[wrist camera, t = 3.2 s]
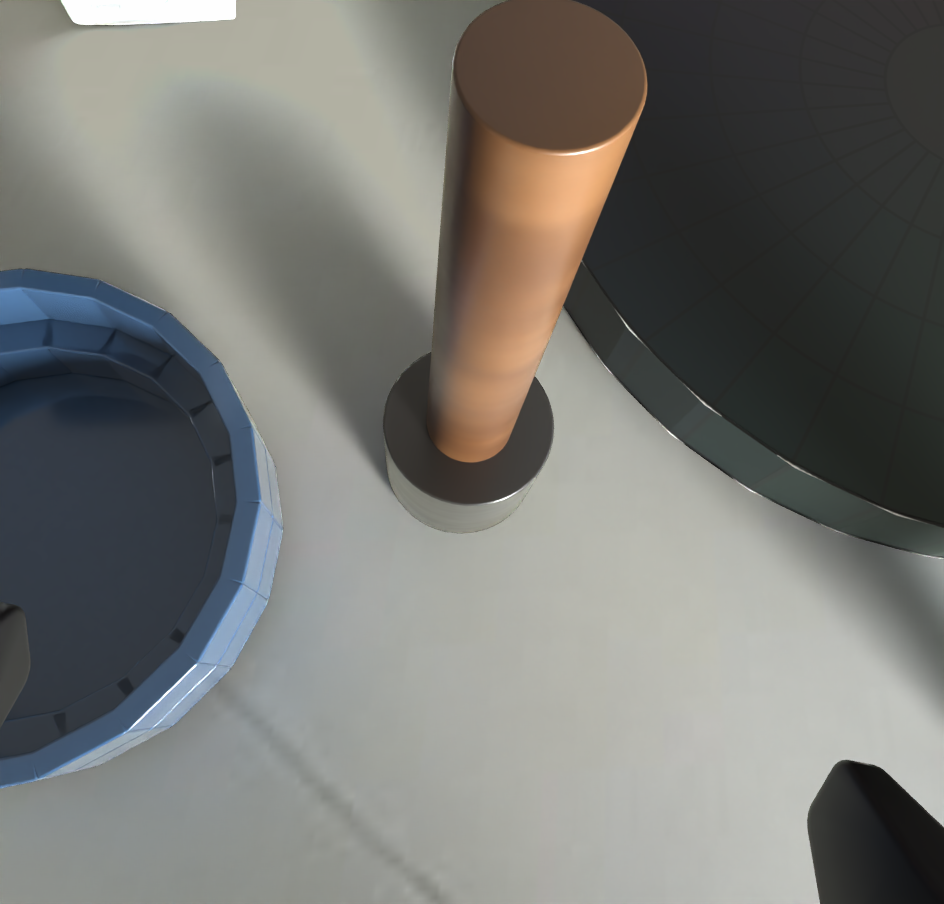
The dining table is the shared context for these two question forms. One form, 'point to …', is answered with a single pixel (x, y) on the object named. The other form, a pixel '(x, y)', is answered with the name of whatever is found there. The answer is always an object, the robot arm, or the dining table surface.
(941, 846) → the robot arm
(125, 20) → the syrup box
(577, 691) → the dining table surface
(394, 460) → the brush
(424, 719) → the dining table surface
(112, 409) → the bowl
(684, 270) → the disc
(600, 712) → the dining table surface
